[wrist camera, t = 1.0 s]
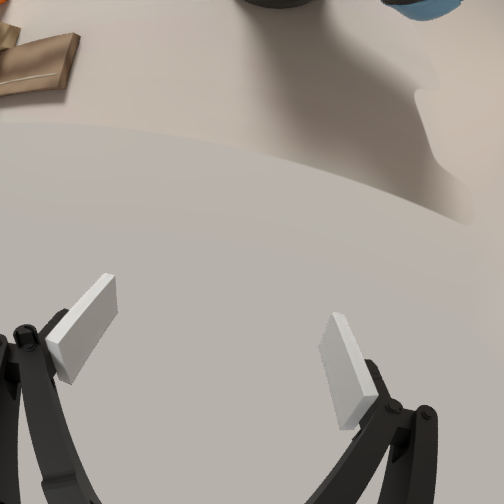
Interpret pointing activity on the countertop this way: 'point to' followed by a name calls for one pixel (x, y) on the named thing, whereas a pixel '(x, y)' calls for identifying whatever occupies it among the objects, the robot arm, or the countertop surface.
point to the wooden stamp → (8, 36)
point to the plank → (37, 65)
